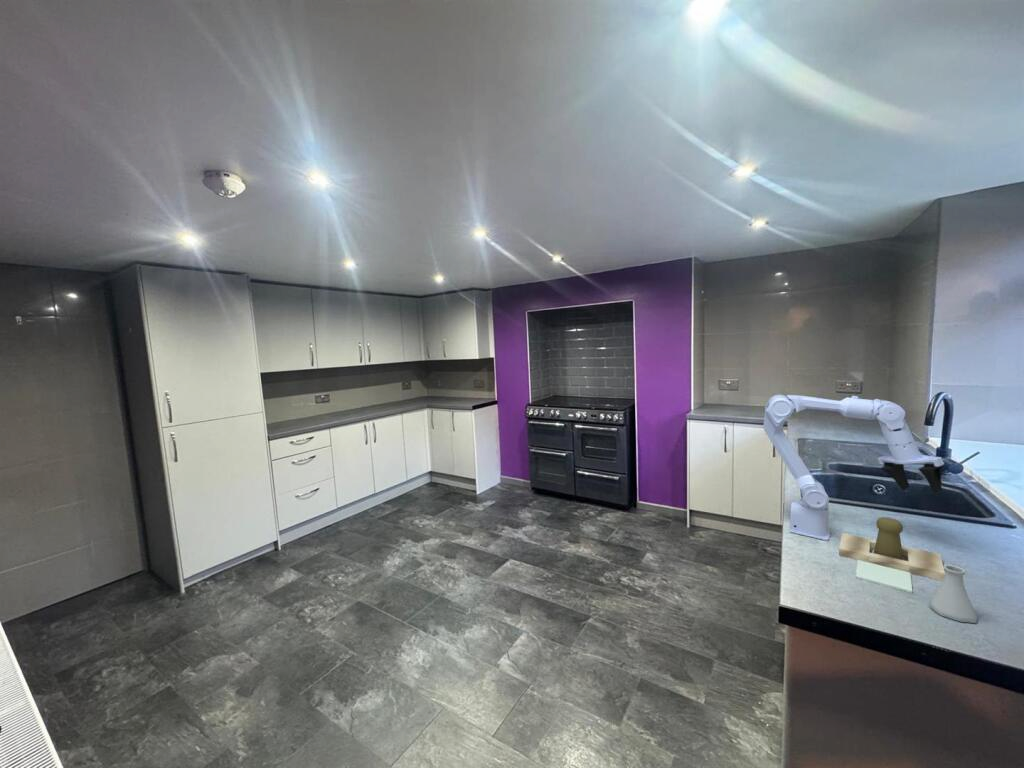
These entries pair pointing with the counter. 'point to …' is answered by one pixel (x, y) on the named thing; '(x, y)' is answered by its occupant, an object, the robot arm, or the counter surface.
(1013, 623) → the counter surface
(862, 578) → the rubber mat
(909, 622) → the counter surface
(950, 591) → the flask
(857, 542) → the socket board
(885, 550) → the cork
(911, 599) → the counter surface
